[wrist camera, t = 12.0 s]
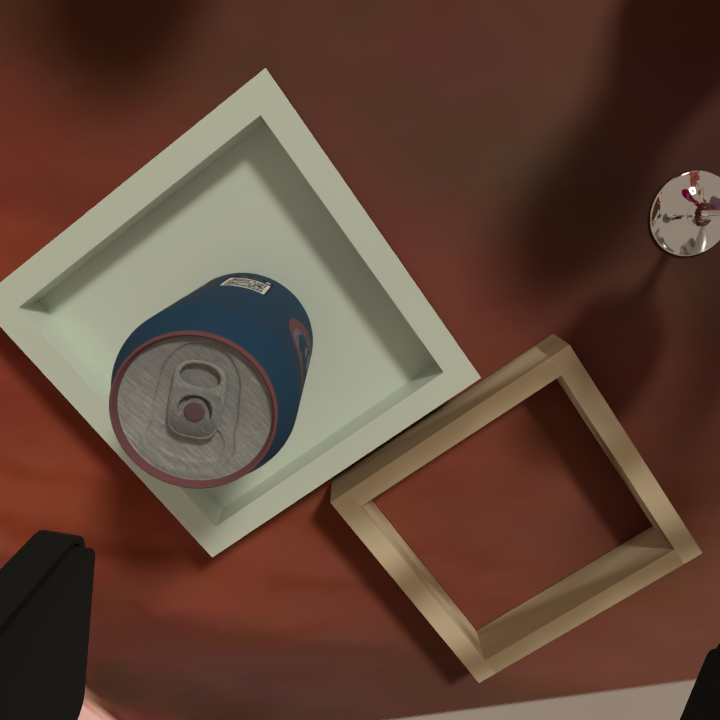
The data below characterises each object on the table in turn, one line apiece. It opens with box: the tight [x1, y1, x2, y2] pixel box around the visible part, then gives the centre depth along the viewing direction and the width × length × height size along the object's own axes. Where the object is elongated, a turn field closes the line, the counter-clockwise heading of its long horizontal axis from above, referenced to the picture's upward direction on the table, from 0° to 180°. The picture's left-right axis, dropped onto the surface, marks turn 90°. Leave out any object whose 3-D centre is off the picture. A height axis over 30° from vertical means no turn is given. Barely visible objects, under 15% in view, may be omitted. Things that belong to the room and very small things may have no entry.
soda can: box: [109, 273, 313, 489], centre depth 26 cm, size 7×7×12 cm
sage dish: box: [0, 68, 481, 557], centre depth 31 cm, size 18×18×3 cm
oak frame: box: [330, 334, 702, 683], centre depth 34 cm, size 15×15×2 cm
